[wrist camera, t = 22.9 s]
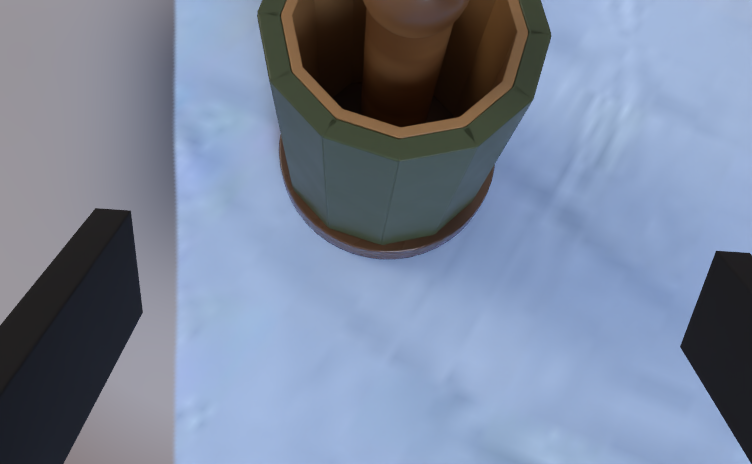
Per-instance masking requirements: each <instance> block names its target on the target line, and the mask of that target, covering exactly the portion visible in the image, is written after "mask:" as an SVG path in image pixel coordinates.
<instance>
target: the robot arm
mask: <svg viewBox="0 0 752 464" xmlns="http://www.w3.org/2000/svg"><path fill="white" fill-rule="evenodd" d="M142 313H143V311H142V303H141V294H140V286H139V277H138V268H137V260H136V251H135V243H134V234H133V226H132V218H131V211H127V210H112V209H97V208H96V209H95V210H94V211H93V212H92V213H91V215H90V216H89V217H88V218H87V220H86V221H85V222H84V223H83V224H82V226H81V227H80V228H79V229H78V231H77V232H76V233H75V234H74V235H73V237H72V238H71V239H70V241H69V242H68V243H67V244H66V245H65V247H64V248H63V249H62V250H61V252H60V253H59V254H58V255H57V256H56V258H55V259H54V260H53V261H52V262H51V264H50V265H49V266H48V267H47V269H46V270H45V271H44V272H43V274H42V275H41V276H40V277H39V279H38V280H37V281H36V282H35V284H34V285H33V286H32V287H31V288H30V290H29V291H28V292H27V293H26V294H25V296H24V297H23V298H22V299H21V301H20V302H19V303H18V304H17V306H16V307H15V308H14V309H13V310H12V312H11V313H10V314H9V315H8V317H7V318H6V319H5V321H4V322H3V323H2V324H1V325H0V464H63V463H64V461H65V460H66V457H67V456H68V454H69V452H70V450H71V448H72V446H73V444H74V442H75V441H76V439H77V436H78V435H79V433H80V431H81V429H82V427H83V425H84V423H85V421H86V420H87V418H88V416H89V414H90V412H91V410H92V408H93V406H94V404H95V402H96V400H97V398H98V397H99V395H100V393H101V391H102V389H103V387H104V385H105V383H106V381H107V379H108V378H109V376H110V374H111V372H112V370H113V368H114V366H115V364H116V362H117V360H118V358H119V356H120V355H121V353H122V351H123V349H124V347H125V345H126V343H127V341H128V339H129V338H130V336H131V334H132V332H133V330H134V328H135V326H136V324H137V322H138V320H139V318H140V317H141V315H142ZM680 347H681V349H682V351H683V352H684V354H685V355H686V357H687V359H688V360H689V362H690V364H691V365H692V367H693V369H694V370H695V372H696V374H697V375H698V377H699V378H700V380H701V382H702V383H703V385H704V387H705V388H706V390H707V392H708V393H709V395H710V397H711V398H712V400H713V401H714V403H715V405H716V406H717V408H718V410H719V411H720V413H721V415H722V416H723V418H724V420H725V421H726V423H727V424H728V426H729V428H730V429H731V431H732V433H733V434H734V436H735V438H736V439H737V441H738V443H739V444H740V446H741V447H742V449H743V451H744V452H745V454H746V456H747V457H748V459H749V461H750V462H751V464H752V255H751V254H750V253H740V252H726V251H716V253H715V256H714V258H713V261H712V264H711V266H710V269H709V271H708V274H707V277H706V279H705V282H704V285H703V287H702V290H701V293H700V295H699V298H698V301H697V303H696V306H695V309H694V311H693V314H692V317H691V319H690V322H689V325H688V327H687V330H686V333H685V335H684V338H683V341H682V343H681V346H680Z"/></svg>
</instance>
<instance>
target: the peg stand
mask: <svg viewBox="0 0 752 464" xmlns="http://www.w3.org/2000/svg"><path fill="white" fill-rule="evenodd" d="M363 2H364V4H365V6H366V8H367V10H366V27H365V44H364V61H363V78H362V81H361V82H355V83H351V84H349V85H348V86H347V87H346V88H344V89H343V90H342V91H340V92H339V93H338V94H337V95H335V96H334V97H333V99H334V100H335V101H336V103H337V104H338V105H339V106H340V107H341V108H342V109H344V110H348V111H351V112H354V113H357V114H360V115H363V116H366V117H369V118H373V119H376V120H379V121H382V122H385V123H388V124H391V125H395V126H398V127H406V126H412V125H417V124H423V123H429V122H434V121H440V120H446V119H451V118H454V115H453V114H452V113H451V112H450V111H449V110H448V109H447V108H446V107H445V106H444V105H443V104H442V103H441V102H440V101H439V100H438V99H437V98H436V97H435V96H434V91H435V88H436V84H437V81H438V77H439V73H440V70H441V66H442V63H443V59H444V56H445V52H446V48H447V45H448V41H449V38H450V34H451V31H452V27H453V23H454V22H455V21H456V20H457V19H458V18H459V17H460V16H461V14H462V13H463V11H464V10H465V8H466V7H467V5H468V2H469V0H363ZM279 157H280V165H281V170H282V175H283V179H284V182H285V186H286V190H287V192H288V194H289V197H290V199H291V202H292V203H293V205H294V207H295V208H296V210H297V212H298V213H299V215H300V216H301V217H302V218H303V220H304V221H305V222H306V223H307V224H308V225H309V226H310V227H311V228H312V229H313V230H314V231H315V232H316V233H317V234H318V235H320V236H321V237H322V238H324V239H325V240H326V241H328V242H330V243H331V244H333V245H335V246H337V247H339V248H340V249H343V250H345V251H348V252H350V253H353V254H357V255H360V256H364V257H369V258H377V259H399V258H406V257H412V256H415V255H419V254H423V253H425V252H428V251H430V250H433V249H435V248H437V247H439V246H441V245H442V244H444V243H446V242H447V241H449V240H450V239H451V238H453V237H454V236H455V235H457V234H458V233H459V232H460V231H461V230H462V229H463V228H464V227H465V226H466V225H467V224H468V222H469V221H470V220H471V218H472V217H473V216H474V214H475V213H476V211H477V210H478V208H479V207H480V205H481V203H482V202H483V200H484V198H485V196H486V194H487V192H488V189H489V186H490V184H491V181H492V177H493V172H494V166H495V164H494V166H493V168H492V169H491V171H490V173H489V174H488V176H487V178H486V179H485V181H484V183H483V184H482V186H481V188H480V189H479V191H478V193H477V194H476V196H475V198H474V199H473V201H472V202H471V203H470V204H469V205H468V206H466V207H465V208H464V209H463V210H462V211H461V212H460V213H458V214H457V215H456V216H455V217H454V218H453V219H452V220H451V221H449V222H448V223H447V224H446V225H445V226H444V227H443V228H441V229H440V230H439V231H438V232H437V233H436V234H434V235H431V236H426V237H421V238H415V239H410V240H405V241H400V242H395V243H390V244H385V245H381V244H376V243H373V242H370V241H367V240H364V239H361V238H358V237H355V236H352V235H348V234H345V233H342V232H339V231H336V230H333V229H330V228H328V227H327V226H326V225H325V224H324V223H323V222H322V220H321V219H320V218H319V217H318V216H317V215H316V214H315V213H314V212H313V211H312V209H311V208H310V207H309V206H308V205H307V204H306V203H305V202H304V201H303V200H302V198H301V197H300V196H299V195H298V194H297V193H296V192H295V191H294V190H293V187H292V183H291V178H290V174H289V169H288V164H287V160H286V155H285V150H284V146H283V141H282V136H281V135H280V141H279Z"/></svg>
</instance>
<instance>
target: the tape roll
mask: <svg viewBox="0 0 752 464" xmlns="http://www.w3.org/2000/svg"><path fill="white" fill-rule="evenodd" d="M366 10H367V8H366V6H365V4H364V2H363V0H262V3H261V5H260V7H259V10H258V15H257V17H258V23H259V28H260V33H261V39H262V44H263V49H264V54H265V60H266V65H267V70H268V76H269V81H270V85H271V90H272V95H273V99H274V104H275V109H276V113H277V118H278V123H279V127H280V132H281V136H282V141H283V146H284V150H285V155H286V160H287V164H288V169H289V174H290V178H291V183H292V187H293V190H294V191H295V192H296V193H297V194H298V195H299V196H300V197H301V198H302V200H303V201H304V202H305V203H306V204H307V205H308V206H309V207H310V208H311V209H312V211H313V212H314V213H315V214H316V215H317V216H318V217H319V218H320V219H321V220H322V222H323V223H324V224H325V225H326V226H327V227H328V228H330V229H333V230H336V231H339V232H342V233H345V234H348V235H352V236H355V237H358V238H361V239H364V240H367V241H370V242H373V243H376V244H381V245H385V244H390V243H395V242H400V241H405V240H410V239H415V238H421V237H426V236H431V235H434V234H436V233H437V232H438V231H439V230H440V229H441V228H443V227H444V226H445V225H446V224H447V223H448V222H449V221H451V220H452V219H453V218H454V217H455V216H456V215H457V214H458V213H460V212H461V211H462V210H463V209H464V208H465V207H466V206H468V205H469V204H470V203H471V202H472V201H473V199H474V198H475V196H476V194H477V193H478V191H479V189H480V188H481V186H482V184H483V183H484V181H485V179H486V178H487V176H488V174H489V173H490V171H491V169H492V168H493V166H494V164H495V163H496V161H497V159H498V158H499V156H500V154H501V152H502V151H503V149H504V147H505V146H506V144H507V142H508V141H509V139H510V137H511V136H512V134H513V132H514V131H515V129H516V127H517V126H518V124H519V122H520V121H521V119H522V117H523V116H524V114H525V112H526V111H527V109H528V107H529V106H530V104H531V102H532V100H533V99H534V95H535V92H536V88H537V85H538V81H539V78H540V74H541V71H542V67H543V64H544V60H545V57H546V53H547V50H548V46H549V43H550V39H551V32H550V28H549V25H548V22H547V19H546V16H545V13H544V9H543V6H542V3H541V0H469V2H468V5H467V7H466V8H465V10H464V11H463V13H462V14H461V16H460V17H459V18H458V19H457V20H456V21H455V22H454V23H453V27H452V31H451V34H450V38H449V41H448V45H447V48H446V52H445V56H444V59H443V63H442V66H441V70H440V73H439V77H438V81H437V84H436V88H435V91H434V96H435V97H436V98H437V99H438V100H439V101H440V102H441V103H442V104H443V105H444V106H445V107H446V108H447V109H448V110H449V111H450V112H451V113H452V114H453V115H454V118H451V119H446V120H440V121H434V122H429V123H423V124H417V125H412V126H406V127H398V126H395V125H391V124H388V123H385V122H382V121H379V120H376V119H373V118H369V117H366V116H363V115H360V114H357V113H354V112H351V111H348V110H344V109H342V108H341V107H340V106H339V105H338V104H337V103H336V101H335V100H334V99H333V97H334V96H335V95H337V94H338V93H339V92H340V91H342V90H343V89H344V88H346V87H347V86H348V85H349V84H351V83H355V82H361V81H362V78H363V61H364V44H365V27H366Z"/></svg>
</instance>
